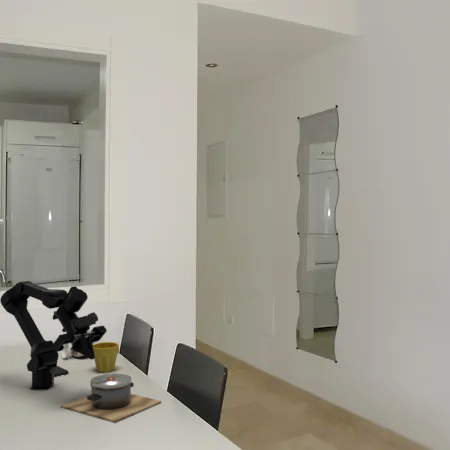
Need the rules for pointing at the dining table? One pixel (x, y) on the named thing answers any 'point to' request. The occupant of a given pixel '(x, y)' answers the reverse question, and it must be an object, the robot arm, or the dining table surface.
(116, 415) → the board
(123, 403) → the cooker
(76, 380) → the dining table surface
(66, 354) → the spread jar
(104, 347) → the plant pot
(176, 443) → the dining table surface
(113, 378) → the lid
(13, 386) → the dining table surface
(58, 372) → the smart home device
